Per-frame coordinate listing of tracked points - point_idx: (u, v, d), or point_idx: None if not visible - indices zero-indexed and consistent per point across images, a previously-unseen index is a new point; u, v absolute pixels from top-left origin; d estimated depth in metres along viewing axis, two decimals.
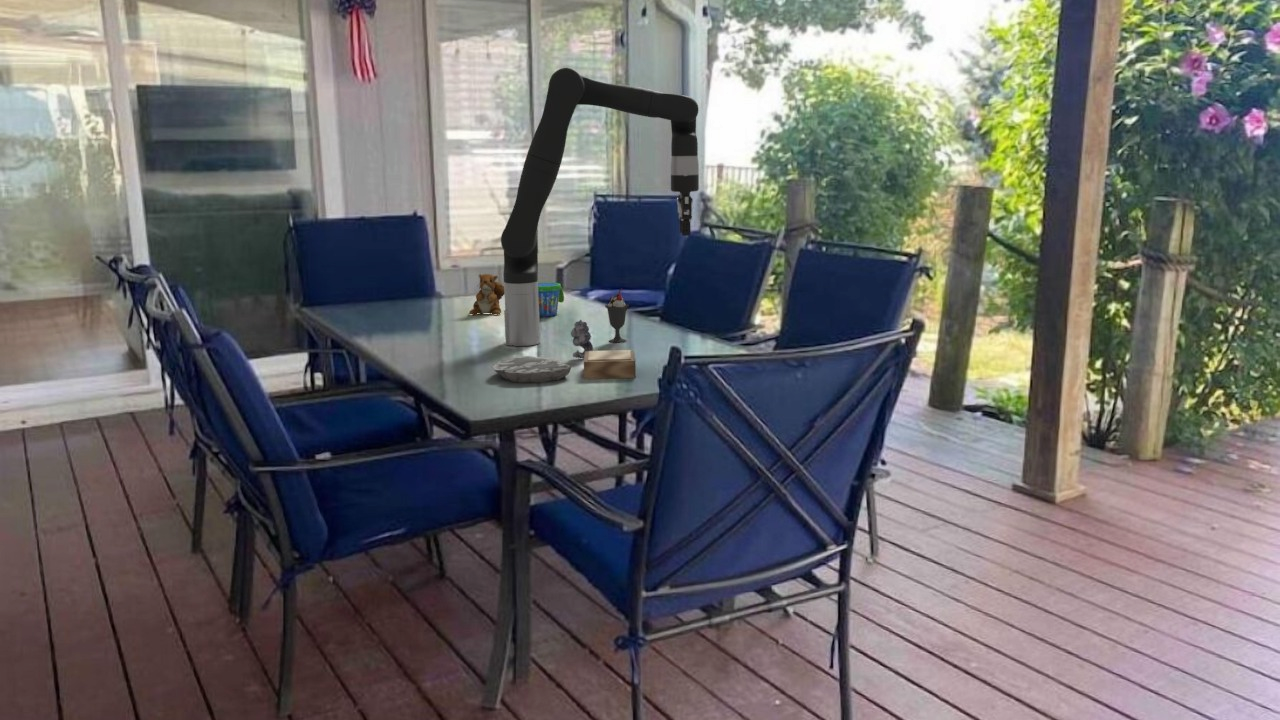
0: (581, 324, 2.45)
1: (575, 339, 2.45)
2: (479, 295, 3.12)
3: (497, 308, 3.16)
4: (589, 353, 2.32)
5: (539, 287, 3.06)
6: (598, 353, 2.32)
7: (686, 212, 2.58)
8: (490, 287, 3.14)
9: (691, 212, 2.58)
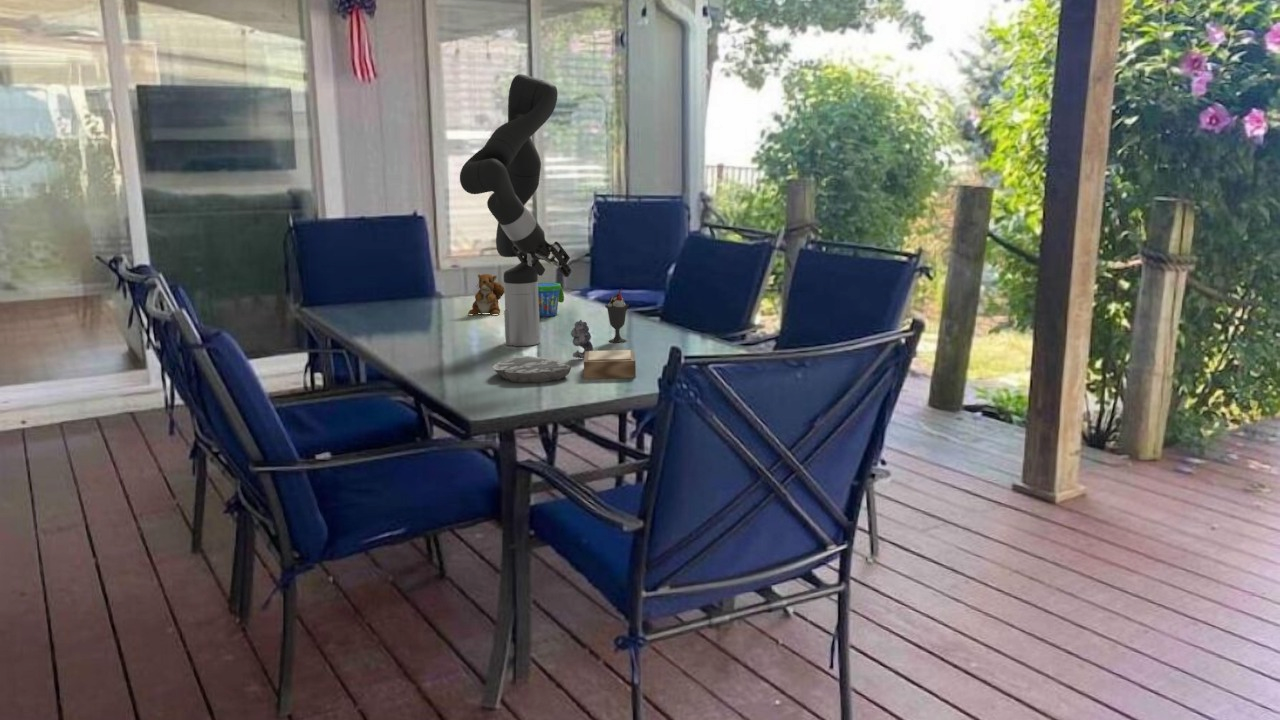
0: (581, 324, 2.45)
1: (575, 339, 2.45)
2: (478, 295, 3.12)
3: (496, 308, 3.16)
4: (589, 353, 2.32)
5: (539, 287, 3.06)
6: (598, 353, 2.32)
7: None
8: (489, 287, 3.13)
9: (528, 261, 2.34)
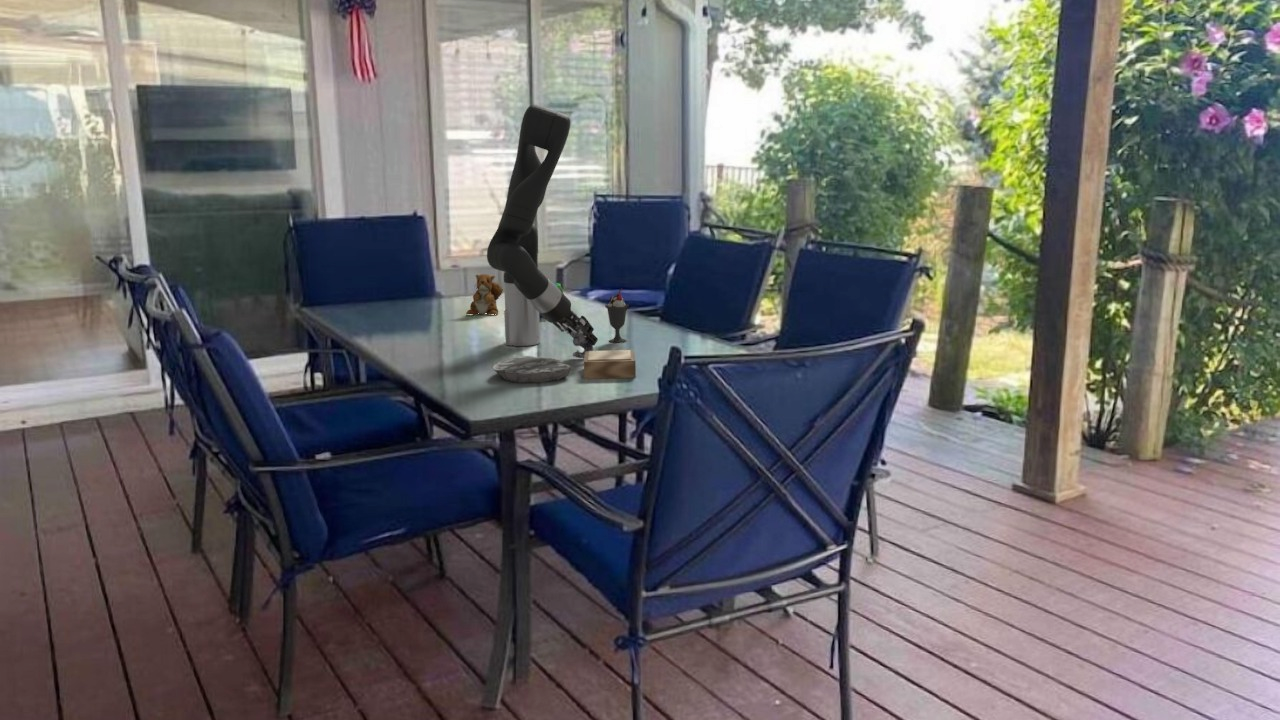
0: None
1: (575, 339, 2.45)
2: (476, 295, 3.12)
3: (494, 308, 3.15)
4: (589, 353, 2.32)
5: None
6: (598, 353, 2.32)
7: None
8: (487, 287, 3.13)
9: (563, 329, 2.46)
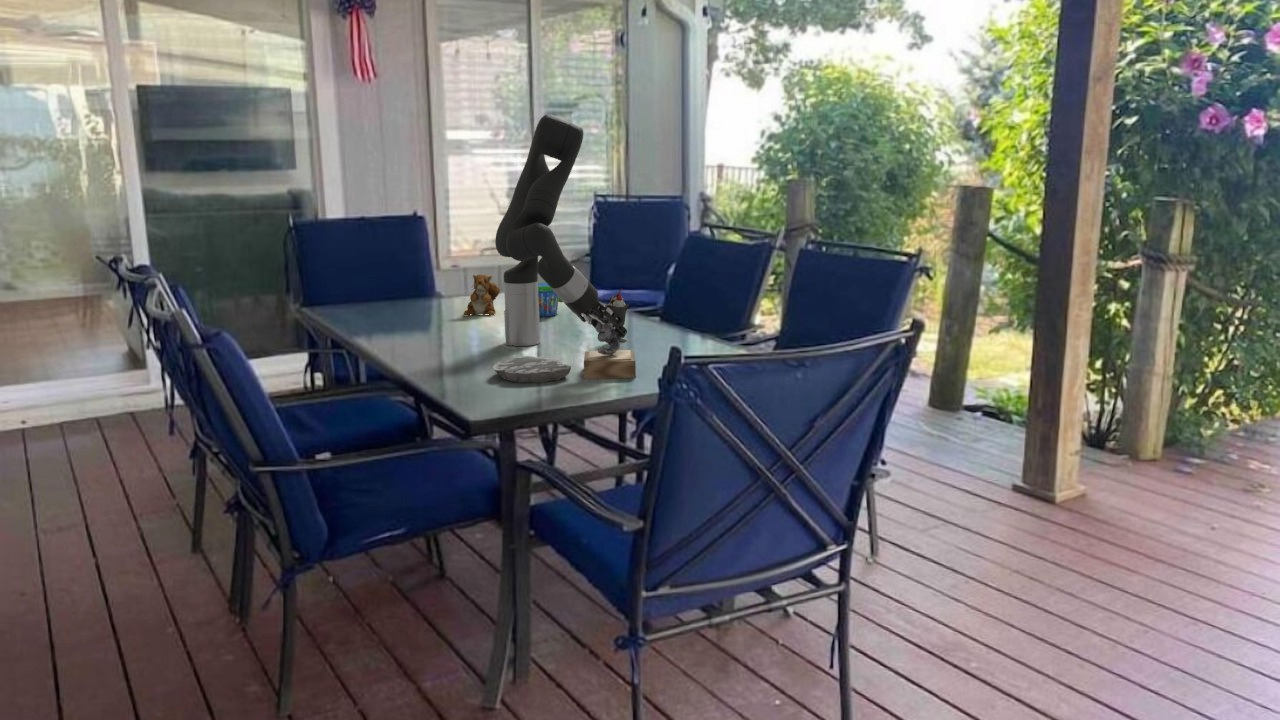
0: None
1: (600, 334, 2.28)
2: (473, 296, 3.11)
3: (491, 309, 3.15)
4: (589, 353, 2.32)
5: (539, 287, 3.06)
6: (598, 353, 2.32)
7: None
8: (484, 288, 3.12)
9: None
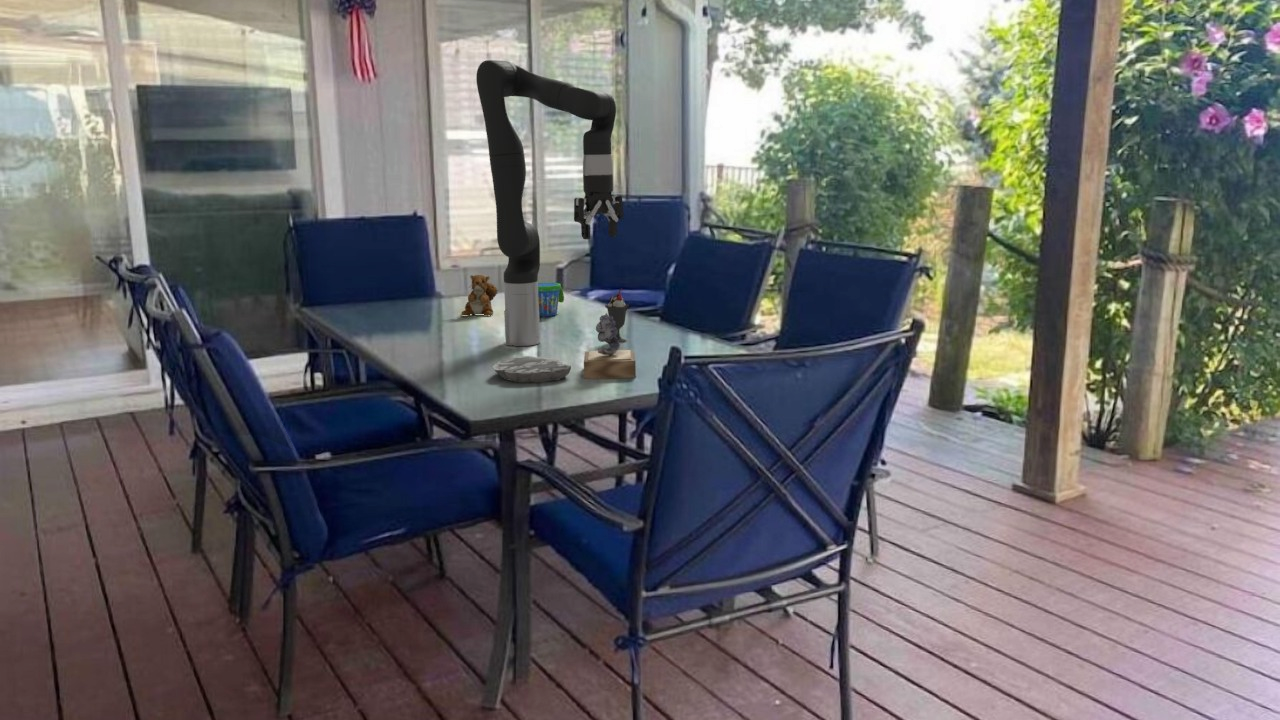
0: (607, 318, 2.27)
1: (600, 334, 2.28)
2: (471, 296, 3.10)
3: (489, 309, 3.14)
4: (589, 353, 2.32)
5: (539, 287, 3.06)
6: (598, 353, 2.32)
7: (587, 214, 2.42)
8: (482, 288, 3.12)
9: (590, 215, 2.41)
